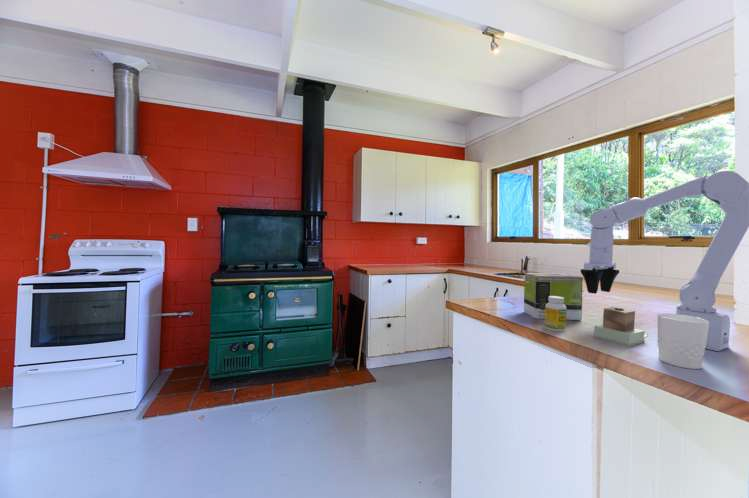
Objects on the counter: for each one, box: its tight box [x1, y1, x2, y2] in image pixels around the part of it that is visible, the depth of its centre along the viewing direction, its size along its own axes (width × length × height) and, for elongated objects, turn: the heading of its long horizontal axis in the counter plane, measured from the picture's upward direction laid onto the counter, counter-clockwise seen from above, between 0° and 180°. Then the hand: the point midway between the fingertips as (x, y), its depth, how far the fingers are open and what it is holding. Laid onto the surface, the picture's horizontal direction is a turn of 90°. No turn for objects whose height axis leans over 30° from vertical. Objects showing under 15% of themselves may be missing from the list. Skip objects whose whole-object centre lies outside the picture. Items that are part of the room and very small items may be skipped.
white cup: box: [656, 312, 709, 370], centre depth 67 cm, size 8×8×10 cm
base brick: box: [592, 323, 646, 347], centre depth 82 cm, size 8×8×3 cm
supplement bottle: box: [544, 296, 567, 332], centre depth 90 cm, size 5×5×10 cm
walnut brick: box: [602, 306, 636, 332], centre depth 82 cm, size 5×5×5 cm
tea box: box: [523, 272, 584, 321], centre depth 105 cm, size 15×10×15 cm
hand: (598, 292), depth 95 cm, fingers open, 7 cm apart
